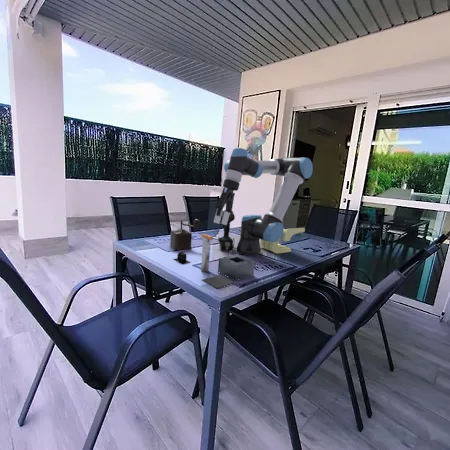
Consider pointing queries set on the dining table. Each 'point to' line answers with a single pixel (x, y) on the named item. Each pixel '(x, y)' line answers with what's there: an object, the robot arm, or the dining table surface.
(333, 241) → the dining table surface
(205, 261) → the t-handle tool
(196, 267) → the dining table surface
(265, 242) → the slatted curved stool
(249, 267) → the block
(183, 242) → the manual coffee grinder
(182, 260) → the black notched block
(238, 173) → the robot arm
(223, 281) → the rubber mat
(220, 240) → the power drill
